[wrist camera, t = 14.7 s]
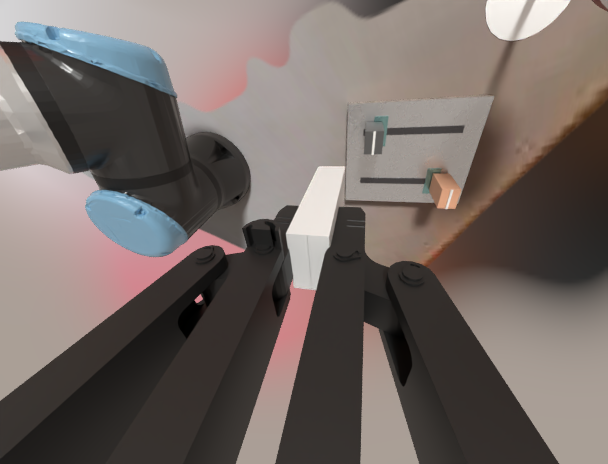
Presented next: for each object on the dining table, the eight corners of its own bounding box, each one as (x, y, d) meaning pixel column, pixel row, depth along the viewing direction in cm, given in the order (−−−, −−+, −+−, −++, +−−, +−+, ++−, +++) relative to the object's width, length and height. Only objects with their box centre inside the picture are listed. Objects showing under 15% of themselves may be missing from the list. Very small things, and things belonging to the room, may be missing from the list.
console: (346, 195, 46) (345, 200, 44) (348, 102, 36) (347, 104, 35) (454, 198, 41) (458, 203, 40) (488, 94, 32) (494, 96, 31)
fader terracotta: (428, 190, 39) (437, 208, 34) (433, 173, 37) (442, 190, 33) (444, 190, 39) (455, 209, 34) (449, 173, 37) (462, 190, 32)
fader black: (364, 142, 37) (363, 155, 32) (365, 122, 35) (365, 131, 31) (380, 142, 37) (381, 154, 32) (382, 121, 35) (384, 131, 30)
